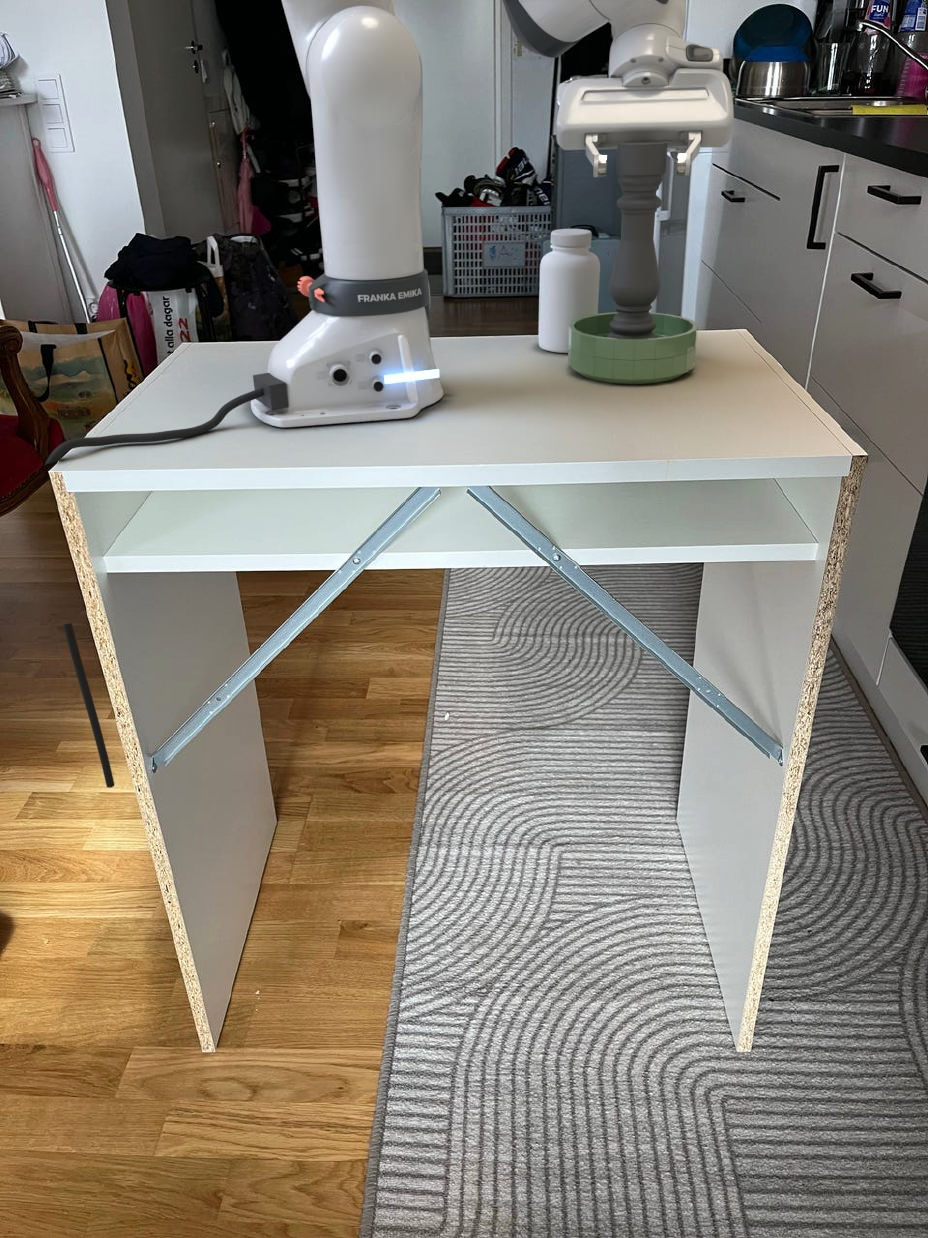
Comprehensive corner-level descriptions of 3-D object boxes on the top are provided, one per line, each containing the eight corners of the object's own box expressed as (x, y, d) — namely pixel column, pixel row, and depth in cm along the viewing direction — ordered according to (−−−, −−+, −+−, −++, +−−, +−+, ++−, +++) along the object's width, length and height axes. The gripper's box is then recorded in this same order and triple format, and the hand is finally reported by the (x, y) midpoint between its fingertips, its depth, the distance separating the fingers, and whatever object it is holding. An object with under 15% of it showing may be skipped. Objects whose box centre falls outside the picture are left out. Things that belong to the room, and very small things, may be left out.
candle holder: (654, 369, 120) (669, 143, 108) (603, 368, 121) (612, 144, 109) (656, 357, 125) (670, 140, 113) (607, 356, 126) (616, 141, 114)
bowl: (604, 392, 115) (606, 345, 112) (548, 362, 127) (548, 319, 125) (718, 376, 119) (722, 330, 117) (653, 349, 132) (655, 307, 129)
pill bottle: (599, 353, 131) (604, 234, 123) (539, 355, 131) (541, 236, 124) (593, 339, 138) (598, 225, 130) (536, 341, 138) (537, 227, 131)
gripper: (556, 55, 114) (549, 154, 110) (736, 49, 111) (735, 150, 107) (558, 98, 120) (551, 192, 116) (729, 93, 117) (727, 190, 113)
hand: (641, 172), depth 112 cm, fingers open, 8 cm apart
